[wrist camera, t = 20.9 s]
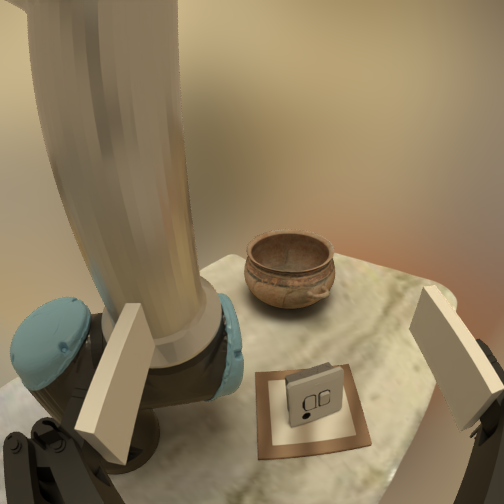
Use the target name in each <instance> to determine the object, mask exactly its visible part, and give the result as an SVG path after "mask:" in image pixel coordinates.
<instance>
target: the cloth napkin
mask: <svg viewBox="0 0 504 504" xmlns="http://www.w3.org/2000/svg"><path fill="white" fill-rule="evenodd" d="M339 366H340V367H341V368H342V369H343V370H344V382H343V398H342V408H341V409H340V410H339V411H337V412H335V413H332V414H330V415H327V416H324V417H322V418H319V419H316V420H313V421H310V422H308V423H305V424H302V425H299V426H296V427H292V426H291V425H290V424H289V411H288V409H287V397H286V386H285V378H286V377H285V376H286V375H290V374H293V373H296V372H300V371H303V370H306V369H299V370H287V371H272V372H255V376H256V404H257V432H258V459H259V460H269V459H284V458H295V457H305V456H313V455H321V454H328V453H334V452H340V451H346V450H351V449H357V448H362V447H366V446H371V444H372V443H371V439H370V435H369V431H368V428H367V424H366V421H365V417H364V413H363V410H362V406H361V403H360V400H359V396H358V393H357V389H356V386H355V383H354V380H353V376H352V373H351V370H350V367H349V364H346V365H338V366H333V367H334V368H336V367H339ZM306 377H307V376H306Z"/></svg>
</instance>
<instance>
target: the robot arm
mask: <svg viewBox="0 0 504 504" xmlns="http://www.w3.org/2000/svg"><path fill="white" fill-rule="evenodd" d="M6 1H8V2H9V3H11V4H13V5H15V6H17V7H19V8H21V9H22V10H24V11H25V12H26V13H27V19H28V20H27V21H28V39H29V53H30V62H31V71H32V78H33V85H34V92H35V98H36V103H37V109H38V114H39V119H40V124H41V128H42V132H43V137H44V141H45V145H46V149H47V153H48V157H49V161H50V164H51V168H52V171H53V175H54V178H55V182H56V185H57V188H58V191H59V194H60V197H61V200H62V203H63V206H64V209H65V212H66V215H67V218H68V220H69V223H70V226H71V229H72V231H73V234H74V236H75V239H76V241H77V244H78V246H79V249H80V251H81V254H82V256H83V258H84V261H85V263H86V266H87V268H88V270H89V272H90V275H91V277H92V279H93V281H94V283H95V285H96V288H97V290H98V292H99V294H100V296H101V298H102V300H103V302H104V304H105V307H104V310H103V313H98V314H91V312H90V310H89V308H88V307H87V306H86V305H85V304H84V303H83V302H82V301H81V300H78V299H77V298H74V297H63V298H58V299H55V300H52V301H50V302H48V303H45V304H44V305H42V306H40V307H39V308H37V309H36V310H35V311H33V312H32V313H31V314H30V315H29V316H28V317H27V318H26V319H25V320H24V321H23V322H22V323H21V325H20V326H19V327H18V329H17V331H16V332H15V335H14V337H13V339H12V342H11V347H10V358H11V362H12V365H13V367H14V369H15V370H16V372H17V374H18V375H19V377H20V378H21V380H22V383H23V384H24V386H25V387H26V388H27V389H28V390H29V391H30V393H31V394H32V395H33V396H34V397H35V398H36V400H37V401H38V402H39V403H40V404H41V405H42V406H43V407H44V409H45V410H46V411H47V412H48V413H49V414H50V415H51V416H52V417H53V418H54V419H53V418H49V417H45V418H41V419H40V420H38V421H37V422H36V423H35V424H34V426H33V427H32V430H31V439H28V438H27V437H26V436H25V435H24V434H22V433H20V432H13V433H10V434H9V435H8V436H7V437H6V439H5V441H4V445H3V458H4V477H5V488H6V497H7V504H125V503H124V501H123V500H122V498H121V496H120V495H119V493H118V492H117V490H116V488H115V487H114V485H113V483H112V482H111V480H110V478H109V476H108V475H107V473H108V474H122V473H127V472H130V471H133V470H135V469H137V468H139V467H140V466H142V465H143V464H144V463H145V462H146V461H147V460H148V459H149V458H150V457H151V456H152V454H153V453H154V451H155V449H156V447H157V444H158V441H159V434H160V431H159V424H158V420H157V418H156V416H155V414H154V412H153V411H152V409H153V408H161V407H168V406H175V405H181V404H187V403H193V402H199V401H212V400H215V399H217V398H218V397H221V396H225V395H229V394H232V393H234V392H235V391H236V390H237V389H238V388H239V386H240V384H241V382H242V378H243V369H244V360H243V355H242V352H241V350H242V338H241V332H240V327H239V323H238V319H237V315H236V312H235V309H234V306H233V304H232V302H231V300H230V299H229V297H228V296H227V295H225V294H222V293H217V292H216V290H215V289H214V287H213V286H212V285H211V284H210V283H209V282H208V281H207V280H206V279H204V278H203V277H201V276H200V272H199V266H198V259H197V251H196V244H195V237H194V229H193V221H192V213H191V204H190V195H189V186H188V176H187V167H186V157H185V146H184V133H183V121H182V108H181V107H182V106H181V90H180V72H179V49H178V6H177V0H6ZM409 330H410V332H411V333H412V335H413V337H414V339H415V341H416V343H417V344H418V346H419V348H420V350H421V352H422V354H423V356H424V358H425V360H426V362H427V364H428V366H429V367H430V369H431V371H432V373H433V375H434V377H435V380H436V382H437V384H438V386H439V388H440V390H441V392H442V394H443V396H444V398H445V400H446V403H447V405H448V407H449V409H450V411H451V414H452V416H453V418H454V421H455V423H456V425H457V427H458V430H459V431H463V430H465V429H467V428H470V427H472V426H473V425H474V424H475V423H476V422H477V421H478V420H479V419H480V421H481V424H480V425H479V426H478V427H477V428H476V430H475V431H473V432H472V434H471V435H470V438H472V437H473V436H474V435H475V434H476V433H477V435H476V437H475V442H474V446H473V449H472V453H471V456H470V460H469V463H468V466H467V469H466V472H465V475H464V478H463V480H462V483H461V486H460V488H459V491H458V494H457V496H456V499H455V501H454V503H453V504H504V371H503V369H502V367H501V366H500V364H499V363H498V362H497V360H496V358H495V356H493V354H492V352H491V350H490V349H489V347H488V346H487V345H486V344H485V343H483V342H482V341H481V340H480V339H477V340H475V339H474V338H473V336H472V335H471V333H470V332H469V330H468V329H467V327H466V326H465V324H464V323H463V322H462V320H461V319H460V317H459V316H458V315H457V313H456V312H455V310H454V309H453V308H452V306H451V305H450V304H449V302H448V301H447V300H446V298H445V297H444V296H443V294H442V293H441V292H440V291H439V289H438V288H437V287H436V285H434V286H425V287H423V289H422V292H421V296H420V299H419V302H418V305H417V308H416V311H415V314H414V316H413V319H412V322H411V325H410V328H409Z"/></svg>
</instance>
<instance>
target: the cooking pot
mask: <svg viewBox="0 0 504 504" xmlns="http://www.w3.org/2000/svg"><path fill="white" fill-rule="evenodd" d="M247 255H248V257H247V260H246V264H245V270H244V275H245V280H246V283H247V285H248V287H249V289H250V290H251V292H252V293H253V294H254V295H255V296H256V297H257V298H258V299H260V300H261V301H263V302H265V303H267V304H269V305H272V306H275V307H279V308H287V309H294V308H302V307H306V306H309V305H311V304H314V303H316V302H317V301H319V300H320V299H323V298H326V297H328V296H329V294H330V292H329V290H330V288H331V287H332V285H333V283H334V279H335V266H334V261H333V258H332V257H333V255H334V248H333V246H332V244H331V243H330V242H329V241H328V240H327V239H325V238H324V237H322V236H320V235H318V234H316V233H312V232H309V231H304V230H296V229H282V230H275V231H270V232H266V233H263V234H261V235H259V236H257V237H255V238H254V239H252V240H251V241H250V242H249V244H248V246H247Z"/></svg>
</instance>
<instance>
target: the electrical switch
mask: <svg viewBox="0 0 504 504" xmlns="http://www.w3.org/2000/svg"><path fill="white" fill-rule="evenodd" d="M327 366H328V367H327ZM306 376H307V377H306ZM285 377H286V378H285V386H286V397H287V409H288V411H289V424H290V425H291V426H292V427H296V426H299V425H302V424H305V423H308V422H310V421H313V420H316V419H319V418H322V417H324V416H327V415H330V414H332V413H335V412H337V411H339V410H340V409H341V408H342V398H343V382H344V370H343V369H342V368H341V367H340V366H339V367H336V368H334V367H333V366H331V365H330V363H329V362H328V363H325V364H322V365H319V366H315V367H312V368H309V369H306V370H303V371H300V372H296V373H293V374H290V375H286V376H285Z"/></svg>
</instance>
